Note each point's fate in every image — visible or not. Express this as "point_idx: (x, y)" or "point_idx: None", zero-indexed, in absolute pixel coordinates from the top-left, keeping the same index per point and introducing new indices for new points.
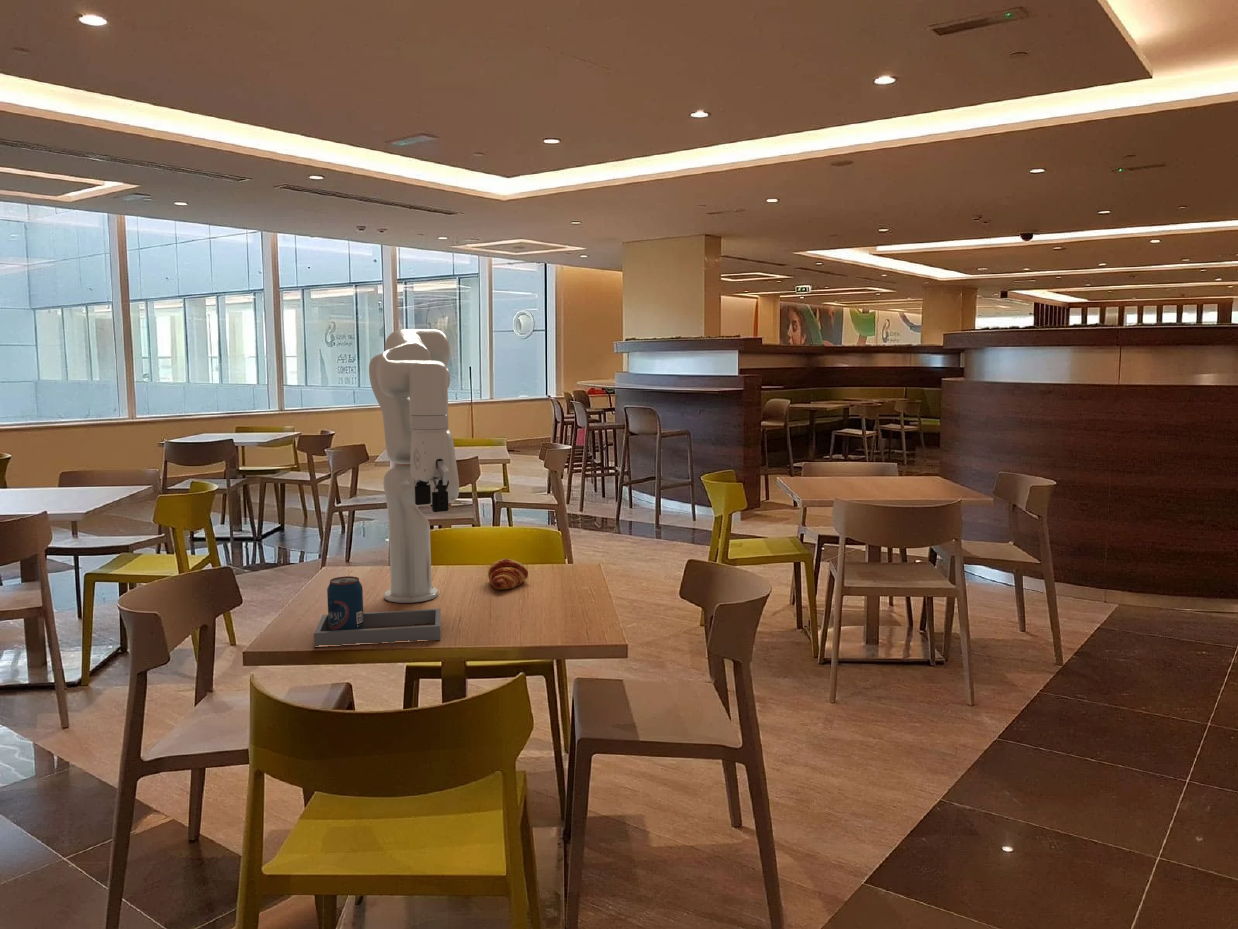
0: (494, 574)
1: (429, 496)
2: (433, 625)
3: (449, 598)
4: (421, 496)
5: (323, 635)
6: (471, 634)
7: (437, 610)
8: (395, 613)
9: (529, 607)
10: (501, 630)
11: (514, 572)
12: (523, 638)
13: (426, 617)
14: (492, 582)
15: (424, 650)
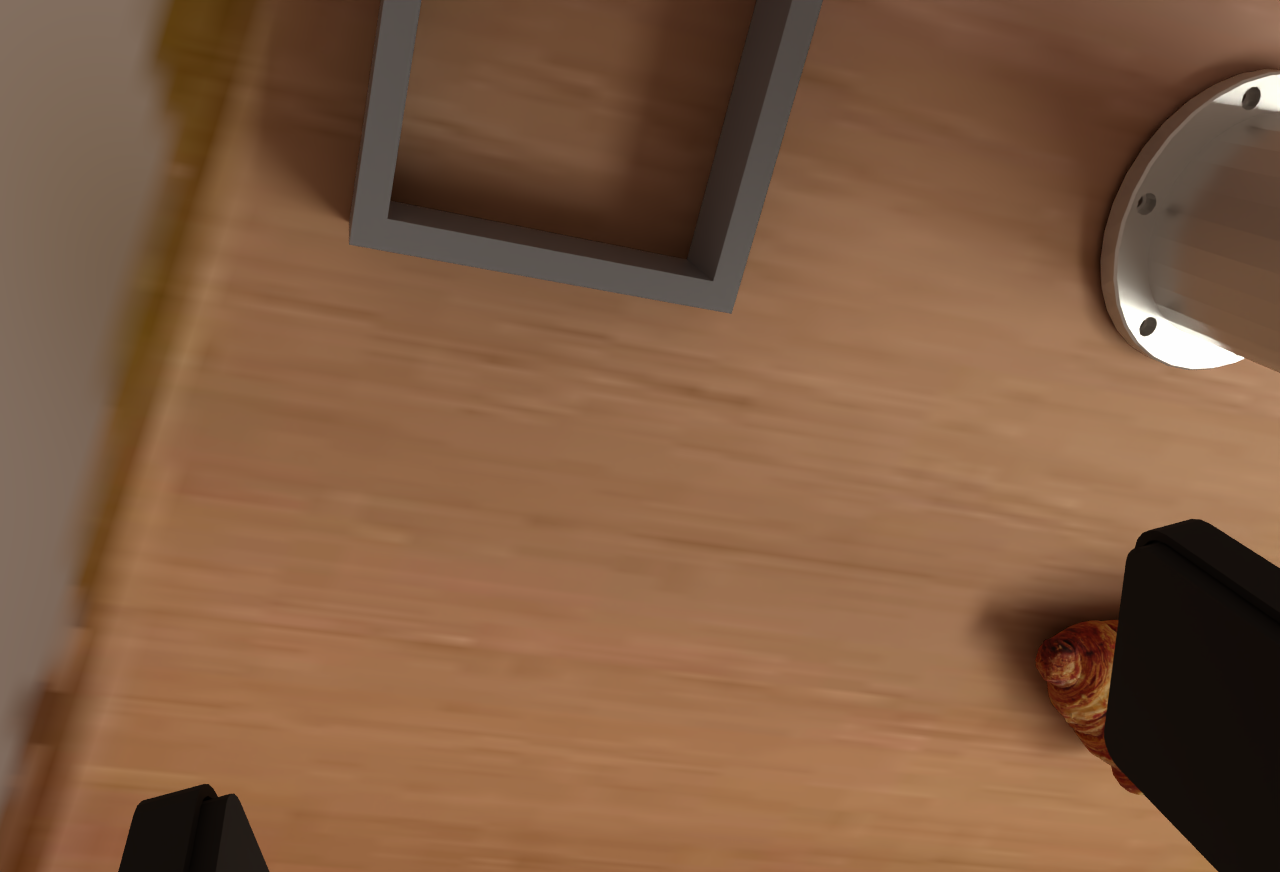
0: None
1: (1203, 836)
2: (379, 206)
3: (1081, 403)
4: (1238, 718)
5: None
6: (409, 406)
7: (701, 290)
8: (782, 23)
9: (741, 717)
10: (423, 557)
11: None
12: (242, 635)
13: (715, 215)
14: (1101, 630)
15: (175, 88)
